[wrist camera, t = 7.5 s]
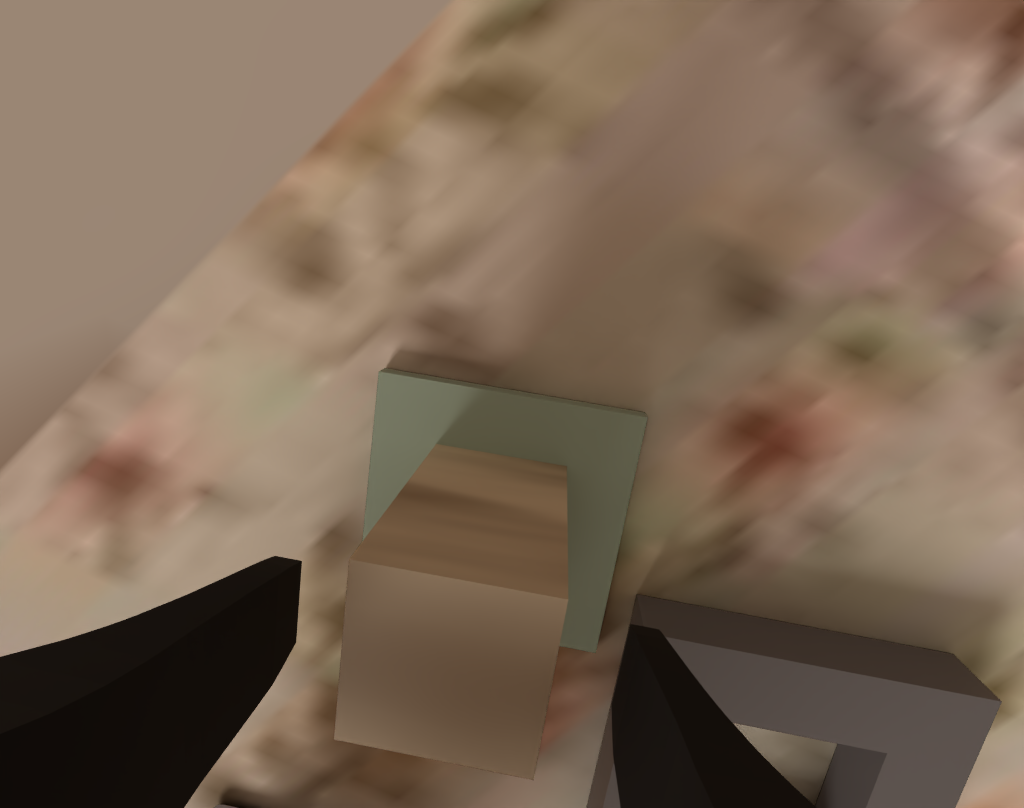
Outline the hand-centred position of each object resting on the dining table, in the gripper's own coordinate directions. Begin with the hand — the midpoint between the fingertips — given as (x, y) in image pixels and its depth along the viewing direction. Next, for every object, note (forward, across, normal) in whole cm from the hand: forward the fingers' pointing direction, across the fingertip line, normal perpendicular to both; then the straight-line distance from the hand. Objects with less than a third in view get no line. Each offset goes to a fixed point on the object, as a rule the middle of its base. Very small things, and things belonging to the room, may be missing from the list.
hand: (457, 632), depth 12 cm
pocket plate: (+6, -10, +7) cm, 14 cm away
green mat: (+6, 0, 0) cm, 6 cm away
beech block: (+6, 0, 0) cm, 6 cm away
